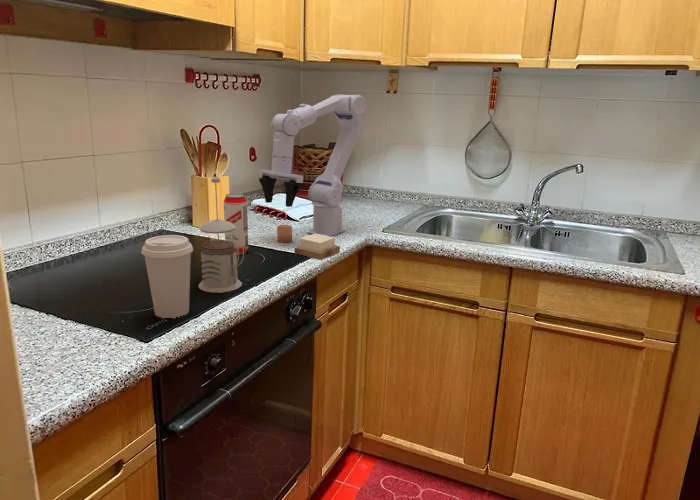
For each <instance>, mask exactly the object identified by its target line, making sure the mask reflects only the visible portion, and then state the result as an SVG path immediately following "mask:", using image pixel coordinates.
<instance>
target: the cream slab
mask: <svg viewBox="0 0 700 500" xmlns="http://www.w3.org/2000/svg"><path fill="white" fill-rule="evenodd" d="M335 245H336V237H334V236H325V235H320V234H310V235H306V236H303V237H301V238H299V246H300V247H301V248H305V249H310V250H314V251H318V252H321V251H324V250H327V249H329V248H332V247H334V246H335Z"/></svg>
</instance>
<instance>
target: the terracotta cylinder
mask: <svg viewBox="0 0 700 500" xmlns="http://www.w3.org/2000/svg"><path fill="white" fill-rule="evenodd" d="M276 233H277V234H276V235H277V236H276V237H277V238H276V239H277V241H276V242H277V243H279V244H290V243H292V242H293V226H292V225H289V224H281V225H277V227H276Z"/></svg>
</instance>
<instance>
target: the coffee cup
mask: <svg viewBox="0 0 700 500" xmlns="http://www.w3.org/2000/svg"><path fill="white" fill-rule="evenodd" d="M193 251H194V247H193V245H192V243H191V242H190V241H189V238H188V237H187V236H183V235H177V234H166V235H157V236H153V237H150V238H148V239H146V240H145V242H144V245H143V246H142V248H141V255H143V256H144V260H145V266H146V271H147V276H148V282H149V288H150V294H151V299H152V304H153V305H152V306H153V311H154V315H155V316H156V317H157V316H158V317H157V318H159V317H161V318H160V319H164V318H172V319H177V318H176V317H178V318H181V317H180V316H182V317H184V316H186V315H187V314H188V313H189V311H190V293H191V292H190V288H191V287H190V283H191V261H192V260H191V257H192V253H193ZM183 315H184V316H183Z"/></svg>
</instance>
